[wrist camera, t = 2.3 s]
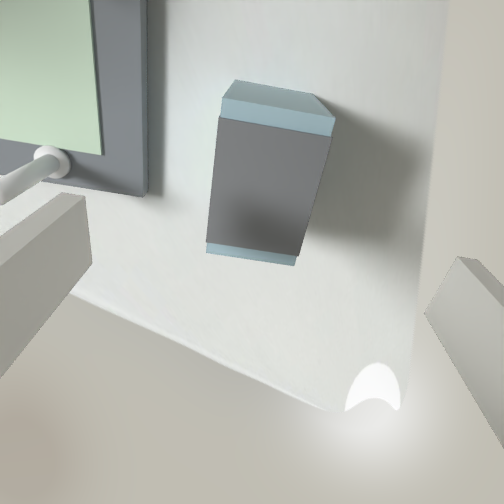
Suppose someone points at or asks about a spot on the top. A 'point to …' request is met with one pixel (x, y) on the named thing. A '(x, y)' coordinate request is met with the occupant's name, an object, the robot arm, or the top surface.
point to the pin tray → (73, 95)
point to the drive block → (266, 171)
